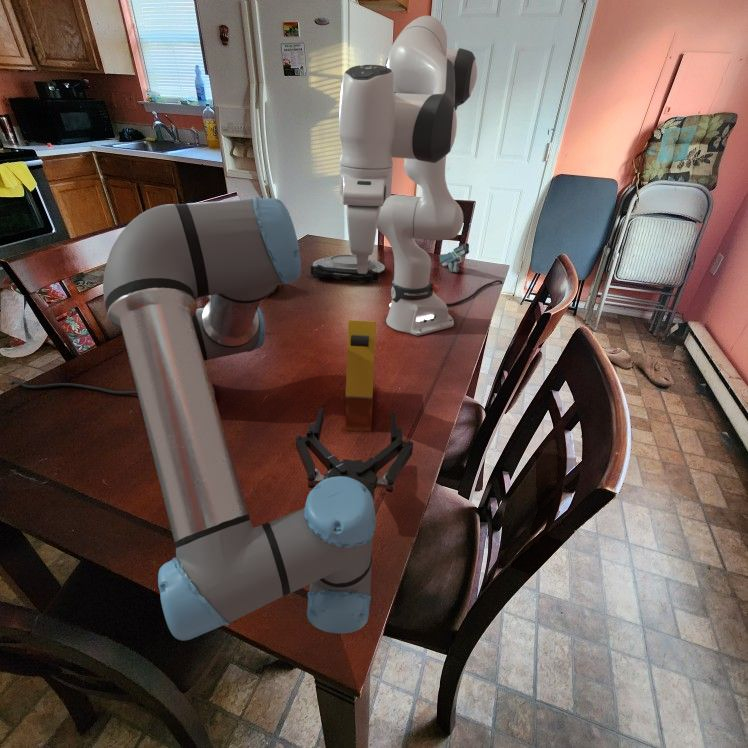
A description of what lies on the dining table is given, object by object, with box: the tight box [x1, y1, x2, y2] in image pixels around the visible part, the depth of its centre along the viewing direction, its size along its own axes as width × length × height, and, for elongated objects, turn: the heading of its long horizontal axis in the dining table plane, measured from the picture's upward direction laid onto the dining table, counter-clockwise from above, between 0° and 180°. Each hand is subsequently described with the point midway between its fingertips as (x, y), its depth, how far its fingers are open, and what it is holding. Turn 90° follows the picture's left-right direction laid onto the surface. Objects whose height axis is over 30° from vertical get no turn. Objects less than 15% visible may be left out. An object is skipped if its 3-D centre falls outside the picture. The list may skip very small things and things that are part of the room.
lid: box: [345, 319, 377, 397], centre depth 82 cm, size 16×6×9 cm
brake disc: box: [310, 254, 386, 284], centre depth 171 cm, size 32×30×5 cm
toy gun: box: [439, 243, 470, 273], centre depth 173 cm, size 4×19×10 cm
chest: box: [345, 374, 375, 432], centre depth 96 cm, size 15×6×9 cm, turn 178°
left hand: (357, 415), depth 78 cm, fingers open, 13 cm apart
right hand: (363, 263), depth 78 cm, fingers open, 8 cm apart
